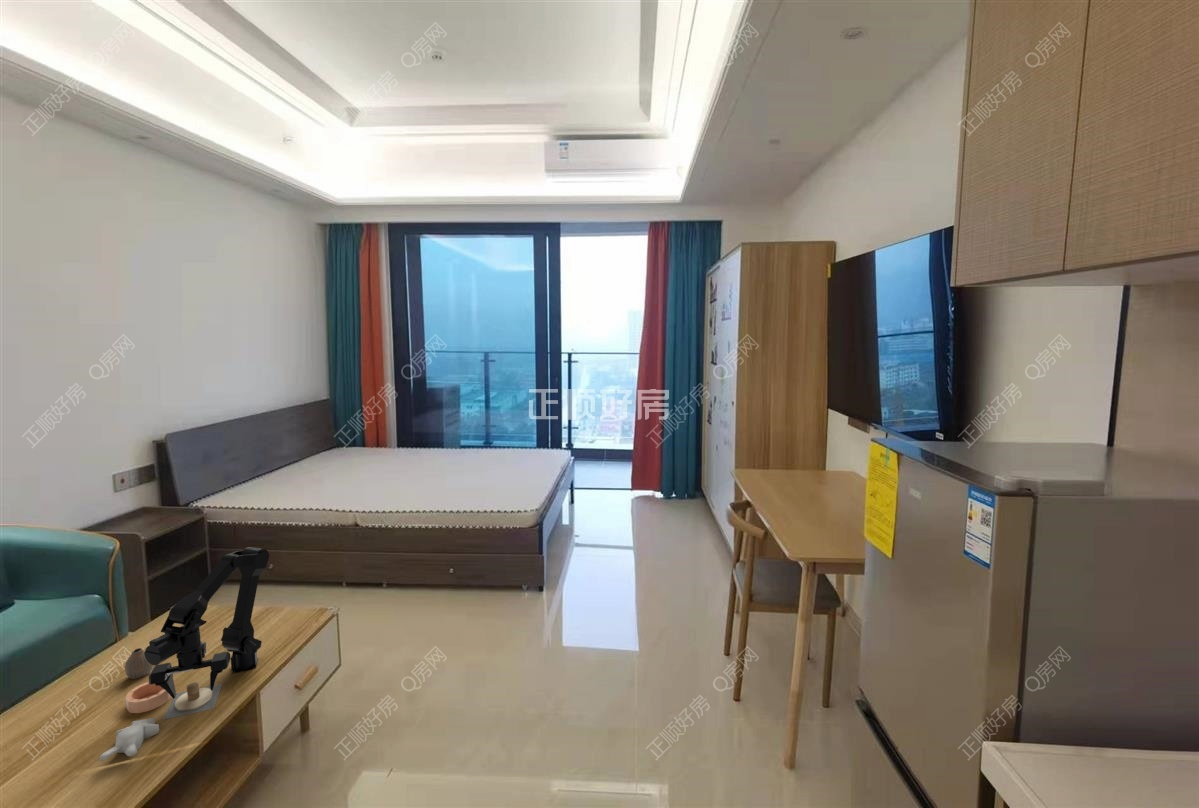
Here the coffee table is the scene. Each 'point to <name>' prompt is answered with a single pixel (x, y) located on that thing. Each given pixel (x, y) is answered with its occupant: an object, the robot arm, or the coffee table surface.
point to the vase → (137, 664)
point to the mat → (210, 705)
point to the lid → (193, 698)
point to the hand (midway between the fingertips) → (193, 693)
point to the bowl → (146, 698)
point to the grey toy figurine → (132, 737)
